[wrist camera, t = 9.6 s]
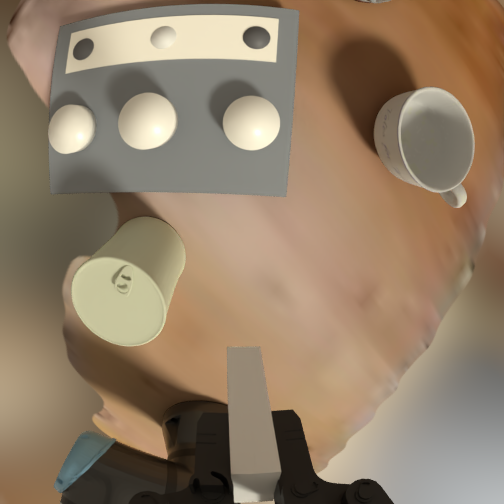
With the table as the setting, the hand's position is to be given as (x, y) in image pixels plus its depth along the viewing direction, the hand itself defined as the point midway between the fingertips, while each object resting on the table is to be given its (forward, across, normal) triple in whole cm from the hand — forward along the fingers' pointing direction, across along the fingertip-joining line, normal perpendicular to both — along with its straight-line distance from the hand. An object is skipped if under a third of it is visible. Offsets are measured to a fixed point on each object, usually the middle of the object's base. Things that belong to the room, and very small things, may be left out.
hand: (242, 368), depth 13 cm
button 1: (+18, -1, -12) cm, 22 cm away
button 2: (+18, +17, -13) cm, 28 cm away
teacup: (+21, -20, -12) cm, 32 cm away
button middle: (+16, +8, -12) cm, 22 cm away
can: (+22, +10, +2) cm, 25 cm away
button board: (+21, +8, -15) cm, 27 cm away
